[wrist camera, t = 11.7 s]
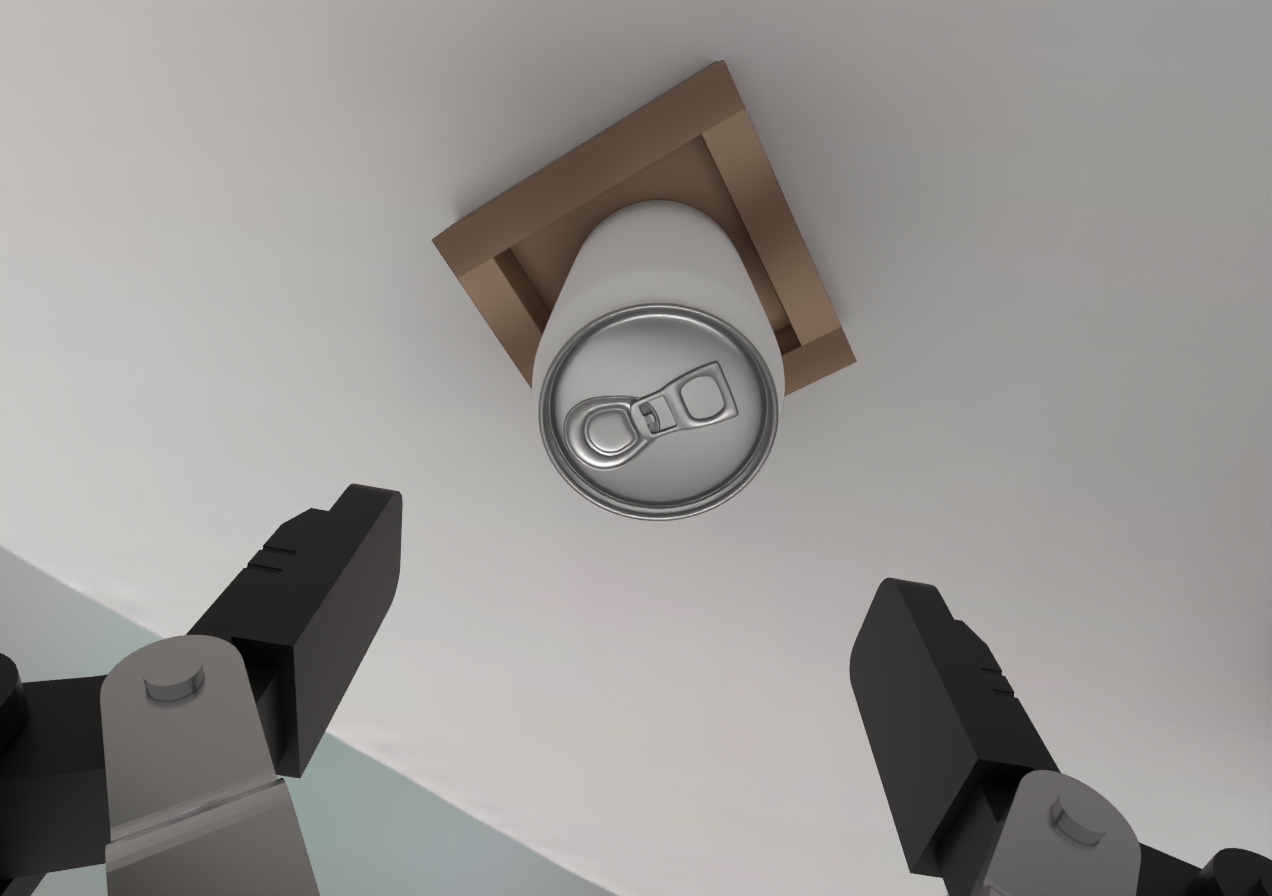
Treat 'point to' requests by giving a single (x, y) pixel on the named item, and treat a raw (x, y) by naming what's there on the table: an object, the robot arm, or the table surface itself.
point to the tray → (641, 171)
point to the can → (658, 367)
